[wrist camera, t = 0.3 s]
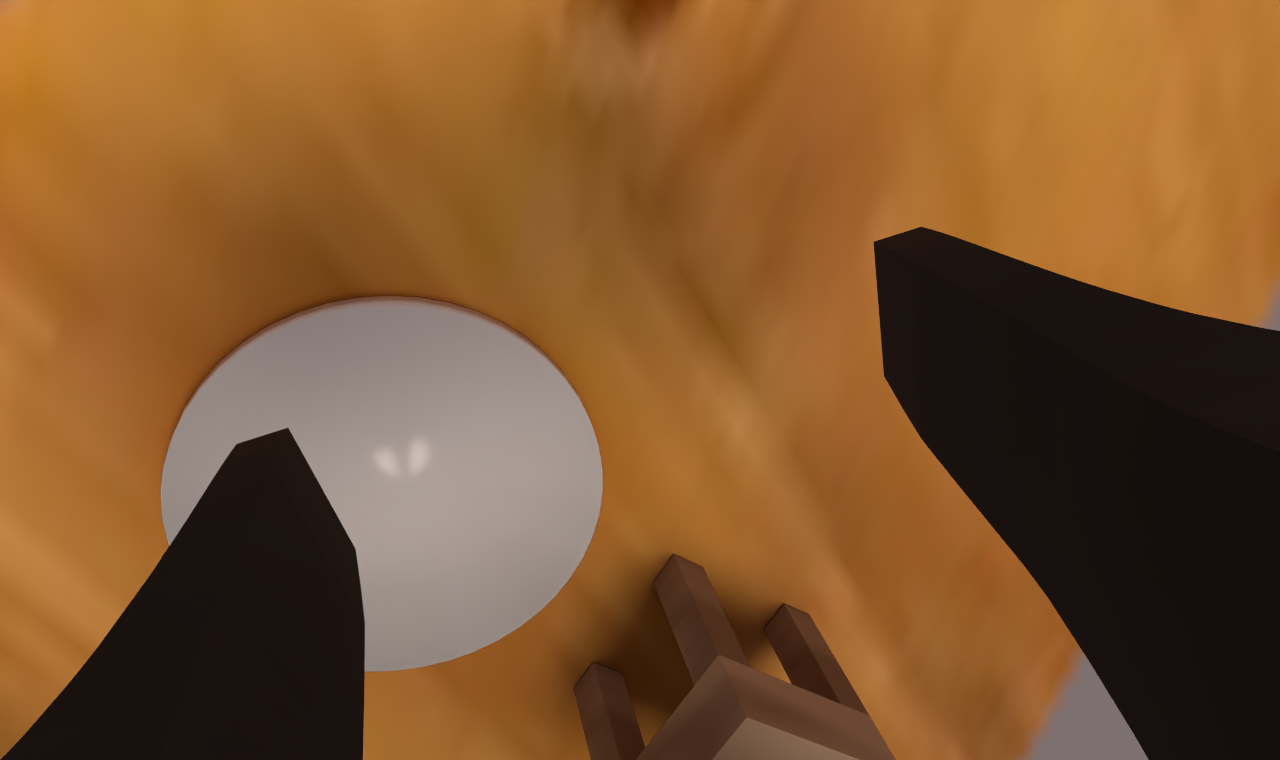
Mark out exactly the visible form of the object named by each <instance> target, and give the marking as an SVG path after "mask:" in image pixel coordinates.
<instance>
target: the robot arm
mask: <svg viewBox="0 0 1280 760" xmlns="http://www.w3.org/2000/svg"><path fill="white" fill-rule="evenodd" d="M874 252H875V265H876V278H877V291H878V303H879V316H880V329H881V342H882V355H883V367H884V377H885V378H886V380H887V382H888V383H889V385H890V387H891V389H892V390H893V392H894V394H895V396H896V397H897V399H898V401H899V403H900V404H901V406H902V408H903V410H904V411H905V413H906V414H907V416H908V418H909V419H910V421H911V423H912V424H913V426H914V427H915V429H916V431H917V432H918V434H919V436H920V437H921V439H922V440H923V441H924V442H925V444H926V445H927V446H928V448H929V449H930V450H931V451H932V453H933V454H934V455H935V456H936V458H937V459H938V460H939V461H940V463H941V464H942V465H943V466H944V468H945V469H946V470H947V471H948V473H949V474H950V475H951V476H952V478H953V479H954V480H955V481H956V483H957V484H958V485H959V486H960V488H961V489H962V490H963V491H964V492H965V494H966V495H967V496H968V497H969V499H970V500H971V501H972V502H973V503H974V505H975V506H976V507H977V508H978V510H979V511H980V512H981V513H982V514H983V516H984V517H985V518H986V519H987V521H988V522H989V523H990V524H991V526H992V527H993V528H994V529H995V530H996V532H997V533H998V534H999V535H1000V537H1001V538H1002V539H1003V540H1004V541H1005V543H1006V544H1007V545H1008V546H1009V548H1010V549H1011V550H1012V551H1013V552H1014V554H1015V555H1016V556H1017V557H1018V559H1019V560H1020V561H1021V562H1022V563H1023V565H1024V566H1025V567H1026V569H1027V570H1028V571H1029V573H1030V574H1031V575H1032V577H1033V578H1034V579H1035V581H1036V582H1037V583H1038V585H1039V586H1040V587H1041V589H1042V590H1043V591H1044V593H1045V594H1046V595H1047V597H1048V598H1049V600H1050V601H1051V603H1052V604H1053V606H1054V608H1055V609H1056V611H1057V612H1058V614H1059V615H1060V617H1061V618H1062V620H1063V621H1064V623H1065V625H1066V626H1067V628H1068V629H1069V631H1070V632H1071V634H1072V635H1073V637H1074V638H1075V640H1076V642H1077V643H1078V645H1079V646H1080V648H1081V649H1082V651H1083V652H1084V654H1085V655H1086V657H1087V659H1088V660H1089V662H1090V663H1091V665H1092V666H1093V668H1094V670H1095V671H1096V673H1097V675H1098V676H1099V678H1100V679H1101V681H1102V683H1103V684H1104V686H1105V688H1106V689H1107V691H1108V693H1109V694H1110V696H1111V697H1112V699H1113V700H1114V702H1115V704H1116V705H1117V707H1118V709H1119V710H1120V712H1121V714H1122V715H1123V717H1124V719H1125V720H1126V722H1127V723H1128V725H1129V727H1130V728H1131V730H1132V731H1133V733H1134V735H1135V737H1136V738H1137V740H1138V742H1139V744H1140V745H1141V747H1142V749H1143V750H1144V752H1145V754H1146V756H1147V757H1148V759H1149V760H1280V331H1276V330H1270V329H1264V328H1259V327H1254V326H1249V325H1245V324H1240V323H1235V322H1230V321H1226V320H1221V319H1216V318H1212V317H1207V316H1202V315H1197V314H1193V313H1189V312H1185V311H1181V310H1177V309H1173V308H1169V307H1165V306H1161V305H1158V304H1154V303H1151V302H1147V301H1144V300H1140V299H1137V298H1133V297H1130V296H1126V295H1123V294H1119V293H1116V292H1112V291H1109V290H1106V289H1103V288H1100V287H1096V286H1093V285H1090V284H1087V283H1084V282H1081V281H1078V280H1075V279H1072V278H1069V277H1066V276H1063V275H1060V274H1057V273H1054V272H1051V271H1048V270H1045V269H1042V268H1039V267H1037V266H1034V265H1031V264H1028V263H1025V262H1023V261H1020V260H1017V259H1014V258H1011V257H1009V256H1006V255H1003V254H1000V253H998V252H995V251H992V250H989V249H987V248H984V247H981V246H978V245H976V244H973V243H970V242H967V241H964V240H962V239H959V238H956V237H953V236H950V235H947V234H944V233H941V232H938V231H934V230H931V229H927V228H924V227H919V228H916V229H913V230H910V231H906V232H903V233H900V234H897V235H894V236H891V237H888V238H884V239H881V240H878V241H875V242H874ZM364 670H365V619H364V610H363V601H362V592H361V584H360V577H359V570H358V562H357V555H356V549H355V547H354V545H353V543H352V542H351V540H350V538H349V536H348V534H347V533H346V531H345V529H344V527H343V525H342V523H341V522H340V520H339V518H338V516H337V514H336V513H335V511H334V509H333V507H332V505H331V504H330V502H329V500H328V498H327V496H326V495H325V493H324V491H323V489H322V487H321V486H320V484H319V482H318V480H317V478H316V477H315V475H314V473H313V471H312V469H311V468H310V466H309V464H308V462H307V460H306V459H305V457H304V455H303V453H302V451H301V450H300V448H299V446H298V444H297V442H296V441H295V439H294V437H293V435H292V433H291V432H290V430H289V428H285V429H282V430H279V431H276V432H273V433H269V434H266V435H263V436H260V437H257V438H254V439H250V440H247V441H244V442H241V443H238V444H236V445H235V447H234V448H233V450H232V451H231V452H230V454H229V455H228V457H227V458H226V459H225V461H224V462H223V464H222V465H221V467H220V469H219V470H218V472H217V473H216V475H215V476H214V478H213V479H212V481H211V482H210V484H209V486H208V487H207V489H206V490H205V492H204V493H203V495H202V497H201V498H200V500H199V501H198V503H197V505H196V506H195V508H194V509H193V511H192V512H191V514H190V516H189V517H188V519H187V520H186V522H185V523H184V525H183V526H182V528H181V529H180V531H179V532H178V534H177V535H176V537H175V538H174V540H173V541H172V543H171V545H170V546H169V548H168V549H167V551H166V552H165V554H164V555H163V557H162V558H161V560H160V561H159V563H158V564H157V566H156V567H155V569H154V570H153V572H152V573H151V575H150V576H149V578H148V579H147V580H146V582H145V583H144V584H143V586H142V587H141V589H140V590H139V591H138V593H137V594H136V595H135V597H134V598H133V600H132V601H131V602H130V604H129V605H128V607H127V608H126V609H125V611H124V612H123V613H122V615H121V616H120V618H119V619H118V620H117V622H116V623H115V624H114V626H113V627H112V629H111V630H110V631H109V633H108V634H107V635H106V637H105V638H104V640H103V641H102V642H101V644H100V645H99V646H98V648H97V649H96V650H95V652H94V653H93V654H92V655H91V657H90V658H89V659H88V660H87V662H86V663H85V664H84V666H83V667H82V668H81V669H80V670H79V672H78V673H77V674H76V675H75V677H74V678H73V679H72V680H71V681H70V683H69V684H68V685H67V686H66V688H65V689H64V690H63V691H62V692H61V693H60V694H59V696H58V697H57V698H56V699H55V700H54V701H53V703H52V704H51V705H50V706H49V707H48V708H47V709H46V711H45V712H44V713H43V714H42V715H41V716H40V718H39V719H38V720H37V721H36V722H35V723H34V724H33V726H32V727H31V728H30V729H29V730H28V731H27V732H26V733H25V735H24V736H23V737H22V738H21V739H20V740H19V741H18V742H17V743H16V744H15V745H14V747H13V748H12V749H11V750H10V751H9V752H8V753H7V754H6V755H5V756H4V757H3V758H2V759H1V760H363V720H364Z"/></svg>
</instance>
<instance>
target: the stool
mask: <svg viewBox="0 0 1280 760" xmlns="http://www.w3.org/2000/svg"><path fill="white" fill-rule="evenodd" d="M653 583H654V585H655V588H656V590H657V593H658V595H659V598H660V600H661V603H662V605H663V608H664V610H665V613H666V615H667V618H668V620H669V623H670V625H671V628H672V631H673V633H674V636H675V638H676V641H677V643H678V646H679V648H680V651H681V653H682V656H683V658H684V661H685V663H686V666H687V668H688V671H689V673H690V676H691V678H692V681H693V683H694V687H693V688H692V689H691V691H690V692H689V693H688V694H687V696H686V697H685V698H684V700H683V701H682V702H681V703H680V705H679V706H678V707H677V708H676V710H675V711H674V712H673V713H672V715H671V716H670V717H669V719H668V720H667V721H666V722H665V724H664V725H663V726H662V727H661V729H660V730H659V731H658V732H657V734H656V735H655V736H654V737H653V739H652V740H651V741H650V743H649V744H648V745H647V746H646V748H645V745H644V742H643V739H642V736H641V733H640V729H639V726H638V723H637V720H636V717H635V713H634V710H633V707H632V704H631V701H630V697H629V694H628V691H627V688H626V685H625V681H624V678H623V675H622V673H620V672H617V671H614V670H612V669H609V668H606V667H604V666H601V665H598V664H596V663H592V664H591V666H590V667H589V668H588V670H587V671H586V672H585V674H584V675H583V676H582V678H581V679H580V680H579V682H578V683H577V684H576V686H575V687H574V692H575V696H576V700H577V704H578V708H579V712H580V716H581V720H582V724H583V729H584V733H585V737H586V741H587V745H588V749H589V753H590V757H591V760H896V759H895V758H894V756H893V754H892V753H891V751H890V749H889V748H888V746H887V744H886V743H885V741H884V739H883V738H882V736H881V734H880V733H879V731H878V729H877V728H876V726H875V724H874V723H873V721H872V719H871V717H870V716H869V714H868V712H867V711H866V709H865V707H864V706H863V704H862V702H861V701H860V699H859V697H858V696H857V694H856V692H855V691H854V689H853V687H852V686H851V684H850V682H849V681H848V679H847V677H846V676H845V674H844V672H843V670H842V669H841V667H840V665H839V664H838V662H837V660H836V659H835V657H834V655H833V654H832V652H831V650H830V649H829V647H828V645H827V644H826V642H825V640H824V639H823V637H822V635H821V634H820V632H819V630H818V628H817V627H816V625H815V623H814V622H813V620H812V618H811V617H810V615H808V614H806V613H804V612H801V611H799V610H797V609H795V608H792V607H790V606H788V605H786V604H784V605H783V606H782V607H781V608H780V610H779V611H778V612H777V613H776V615H775V616H774V617H773V618H772V620H771V621H770V622H769V623H768V625H767V626H766V627H765V628H764V631H765V633H766V635H767V637H768V639H769V641H770V643H771V645H772V647H773V649H774V650H775V652H776V654H777V656H778V658H779V660H780V662H781V664H782V666H783V668H784V670H785V671H786V673H787V675H788V677H789V679H790V681H791V683H792V684H790V683H787V682H785V681H782V680H780V679H777V678H775V677H773V676H770V675H768V674H765V673H763V672H760V671H758V670H755V669H753V668H751V666H750V664H749V662H748V660H747V658H746V656H745V654H744V652H743V650H742V648H741V646H740V644H739V642H738V639H737V637H736V635H735V633H734V631H733V629H732V627H731V625H730V623H729V621H728V619H727V617H726V614H725V612H724V610H723V608H722V606H721V604H720V602H719V600H718V598H717V596H716V594H715V592H714V589H713V587H712V585H711V583H710V581H709V579H708V577H707V575H706V573H705V571H704V569H703V567H701V566H699V565H697V564H694V563H692V562H690V561H688V560H685V559H683V558H681V557H679V556H677V555H673V556H672V558H671V559H670V560H669V562H668V563H667V564H666V566H665V567H664V568H663V570H662V571H661V572H660V574H659V575H658V576H657V578H656V579H655V580H654V582H653Z"/></svg>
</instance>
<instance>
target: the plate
mask: <svg viewBox="0 0 1280 760" xmlns="http://www.w3.org/2000/svg"><path fill="white" fill-rule="evenodd" d="M285 428H289V430H290V432H291V433H292V435H293V437H294V439H295V441H296V442H297V444H298V446H299V448H300V450H301V451H302V453H303V455H304V457H305V459H306V460H307V462H308V464H309V466H310V468H311V469H312V471H313V473H314V475H315V477H316V478H317V480H318V482H319V484H320V486H321V487H322V489H323V491H324V493H325V495H326V496H327V498H328V500H329V502H330V504H331V505H332V507H333V509H334V511H335V513H336V514H337V516H338V518H339V520H340V522H341V523H342V525H343V527H344V529H345V531H346V533H347V534H348V536H349V538H350V540H351V542H352V543H353V545H354V547H355V549H356V555H357V562H358V570H359V577H360V584H361V592H362V601H363V610H364V619H365V670H364V671H368V672H376V671H398V670H405V669H412V668H419V667H425V666H429V665H433V664H437V663H441V662H445V661H449V660H452V659H455V658H458V657H461V656H464V655H466V654H469V653H472V652H475V651H477V650H479V649H481V648H483V647H485V646H487V645H489V644H492V643H494V642H496V641H498V640H499V639H501V638H503V637H504V636H506V635H508V634H509V633H511V632H513V631H514V630H516V629H517V628H519V627H520V626H522V625H523V624H524V623H525V622H527V621H528V620H529V619H531V618H532V617H533V616H535V615H536V614H537V613H538V612H539V611H541V610H542V609H543V608H544V607H545V606H546V605H547V604H548V603H549V602H550V601H551V600H552V599H553V598H554V597H555V596H556V595H557V594H558V592H559V591H560V590H561V589H562V587H563V586H564V585H565V584H566V583H567V581H568V580H569V579H570V578H571V576H572V575H573V573H574V571H575V570H576V568H577V567H578V565H579V563H580V562H581V560H582V559H583V557H584V555H585V552H586V550H587V548H588V546H589V544H590V541H591V539H592V537H593V534H594V531H595V527H596V524H597V521H598V517H599V513H600V506H601V499H602V464H601V457H600V451H599V446H598V443H597V439H596V436H595V433H594V430H593V427H592V424H591V421H590V419H589V416H588V414H587V412H586V410H585V408H584V406H583V404H582V402H581V400H580V397H579V395H578V393H577V392H576V390H575V389H574V387H573V386H572V384H571V383H570V381H569V380H568V379H567V377H566V376H565V374H564V373H563V371H562V370H561V369H560V368H559V367H558V366H557V365H556V364H555V363H554V362H553V361H552V360H551V359H550V357H549V356H548V355H547V354H546V353H545V352H543V351H542V350H541V349H540V348H538V347H537V346H536V345H535V344H534V343H532V342H531V341H530V340H529V339H527V338H526V337H525V336H523V335H522V334H520V333H518V332H517V331H515V330H513V329H512V328H510V327H508V326H507V325H505V324H504V323H502V322H500V321H497V320H495V319H493V318H491V317H488V316H486V315H484V314H482V313H480V312H477V311H475V310H471V309H468V308H465V307H461V306H458V305H455V304H451V303H448V302H443V301H437V300H431V299H425V298H420V297H403V296H375V297H360V298H353V299H347V300H342V301H337V302H332V303H326V304H323V305H320V306H317V307H314V308H310V309H307V310H304V311H301V312H298V313H295V314H293V315H291V316H289V317H287V318H284V319H282V320H280V321H278V322H276V323H274V324H271V325H269V326H267V327H266V328H264V329H263V330H261V331H259V332H258V333H256V334H255V335H253V336H252V337H250V338H248V339H247V340H245V341H244V342H242V343H241V344H240V345H239V346H237V347H236V348H235V349H234V350H233V351H231V352H230V353H229V354H228V355H227V356H225V357H224V358H223V359H222V360H221V361H220V362H219V363H218V364H217V365H216V366H215V367H214V368H213V370H212V371H211V372H210V373H209V374H208V375H207V376H206V377H205V378H204V379H203V381H202V382H201V383H200V385H199V386H198V388H197V389H196V391H195V392H194V394H193V395H192V397H191V398H190V400H189V401H188V403H187V404H186V406H185V409H184V411H183V413H182V415H181V417H180V419H179V421H178V424H177V426H176V428H175V431H174V433H173V436H172V439H171V441H170V445H169V448H168V452H167V455H166V459H165V463H164V466H163V474H162V483H161V509H162V520H163V524H164V528H165V533H166V537H167V541H168V544H169V546H170V545H171V543H172V541H173V540H174V538H175V537H176V535H177V534H178V532H179V531H180V529H181V528H182V526H183V525H184V523H185V522H186V520H187V519H188V517H189V516H190V514H191V512H192V511H193V509H194V508H195V506H196V505H197V503H198V501H199V500H200V498H201V497H202V495H203V493H204V492H205V490H206V489H207V487H208V486H209V484H210V482H211V481H212V479H213V478H214V476H215V475H216V473H217V472H218V470H219V469H220V467H221V465H222V464H223V462H224V461H225V459H226V458H227V457H228V455H229V454H230V452H231V451H232V450H233V448H234V447H235V445H236V444H238V443H241V442H244V441H247V440H250V439H254V438H257V437H260V436H263V435H266V434H269V433H273V432H276V431H279V430H282V429H285Z"/></svg>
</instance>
